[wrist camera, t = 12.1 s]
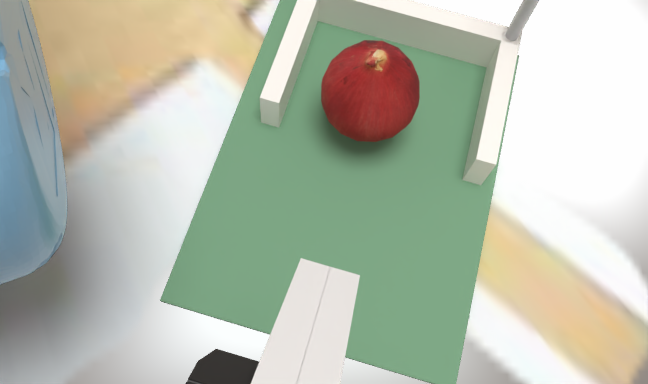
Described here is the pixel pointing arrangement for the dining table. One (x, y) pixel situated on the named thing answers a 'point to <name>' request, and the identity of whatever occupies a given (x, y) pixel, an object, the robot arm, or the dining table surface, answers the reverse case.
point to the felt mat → (346, 211)
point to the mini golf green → (419, 32)
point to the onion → (370, 91)
